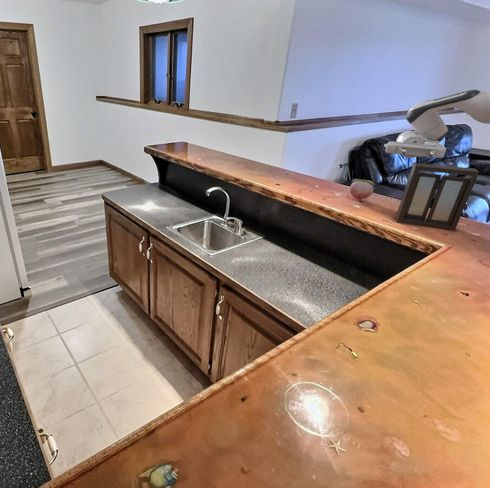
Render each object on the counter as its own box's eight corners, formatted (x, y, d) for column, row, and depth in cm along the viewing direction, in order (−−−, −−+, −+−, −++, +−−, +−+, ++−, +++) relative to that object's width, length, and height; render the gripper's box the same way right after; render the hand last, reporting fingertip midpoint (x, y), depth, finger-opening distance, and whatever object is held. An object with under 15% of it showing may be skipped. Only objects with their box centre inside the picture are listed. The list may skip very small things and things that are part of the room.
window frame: (451, 225, 130) (474, 168, 120) (454, 230, 125) (479, 171, 116) (395, 217, 136) (413, 162, 127) (397, 222, 132) (416, 165, 123)
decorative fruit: (370, 198, 156) (376, 177, 152) (370, 204, 150) (376, 181, 145) (347, 195, 160) (353, 174, 156) (346, 200, 154) (351, 178, 149)
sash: (422, 215, 134) (438, 172, 127) (425, 219, 131) (441, 175, 123) (401, 212, 137) (415, 169, 130) (403, 216, 133) (417, 172, 126)
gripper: (385, 136, 149) (389, 143, 138) (443, 141, 142) (451, 148, 131) (381, 151, 152) (384, 158, 141) (437, 156, 145) (445, 164, 134)
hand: (417, 153), depth 136 cm, fingers open, 8 cm apart
